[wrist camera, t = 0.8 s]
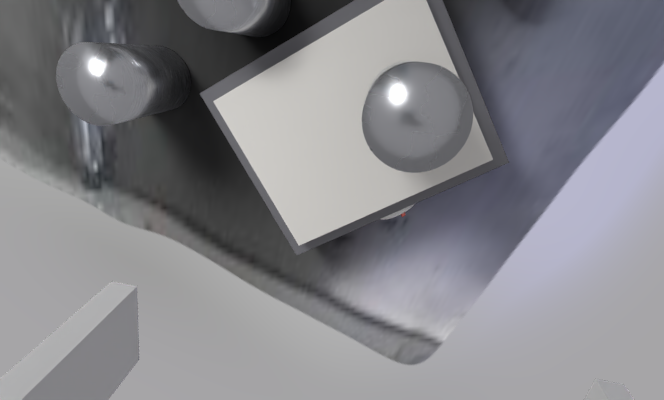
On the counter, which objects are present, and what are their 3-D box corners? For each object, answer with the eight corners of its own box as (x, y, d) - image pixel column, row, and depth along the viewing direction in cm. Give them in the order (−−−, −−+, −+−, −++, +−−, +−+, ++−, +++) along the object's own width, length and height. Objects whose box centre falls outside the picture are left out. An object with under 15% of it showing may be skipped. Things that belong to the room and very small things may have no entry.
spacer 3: (353, 84, 26) (342, 95, 18) (426, 45, 24) (446, 40, 17) (387, 152, 27) (390, 189, 19) (458, 118, 26) (490, 144, 18)
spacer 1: (119, 65, 32) (40, 67, 25) (167, 33, 31) (99, 25, 23) (155, 121, 33) (90, 139, 26) (202, 92, 32) (148, 103, 25)
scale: (220, 89, 32) (193, 94, 27) (419, -29, 27) (427, -47, 23) (309, 240, 35) (298, 268, 31) (496, 157, 31) (517, 175, 26)
